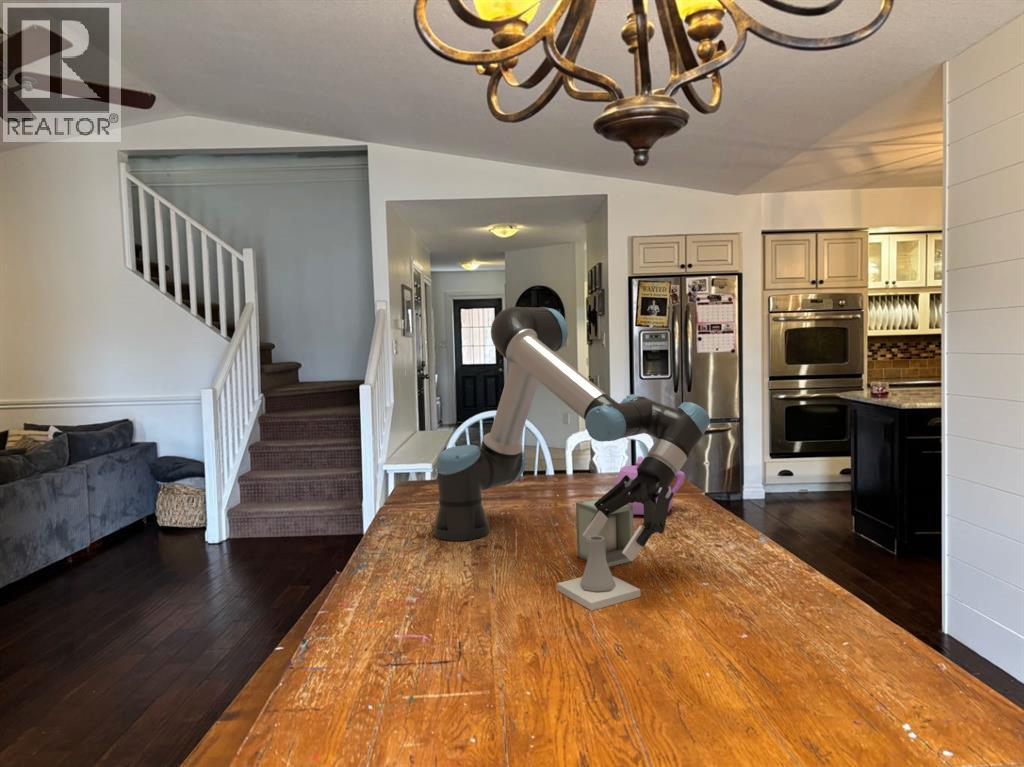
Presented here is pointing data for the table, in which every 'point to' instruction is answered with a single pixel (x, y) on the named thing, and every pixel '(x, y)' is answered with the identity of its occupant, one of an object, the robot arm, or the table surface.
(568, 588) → the plate
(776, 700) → the table surface
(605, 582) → the flask
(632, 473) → the teapot
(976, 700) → the table surface
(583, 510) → the dispenser box
